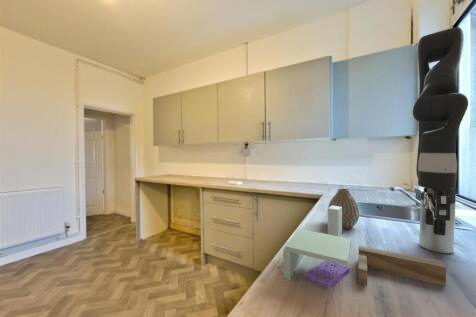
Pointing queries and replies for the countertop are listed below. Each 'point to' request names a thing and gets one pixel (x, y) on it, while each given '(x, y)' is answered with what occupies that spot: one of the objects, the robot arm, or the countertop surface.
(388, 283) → the countertop surface
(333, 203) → the vase
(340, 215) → the skincare box
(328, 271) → the sponges
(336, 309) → the countertop surface
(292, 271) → the wall shelf
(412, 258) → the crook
